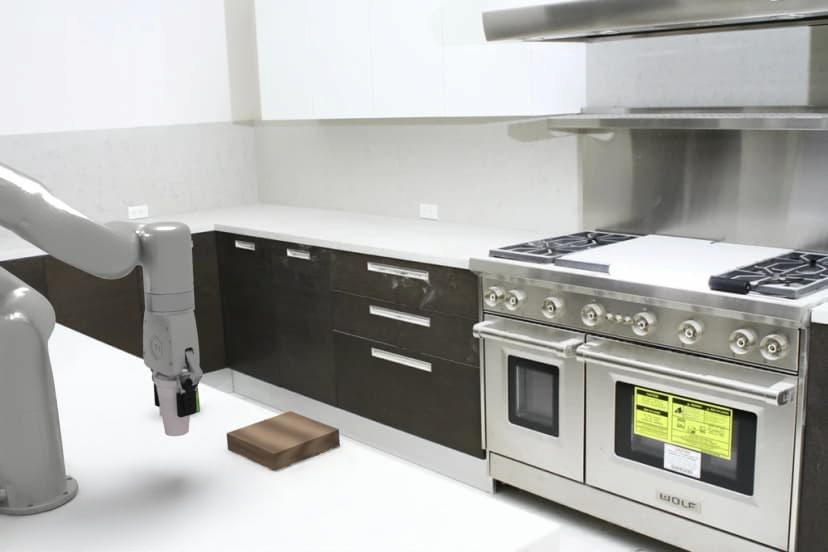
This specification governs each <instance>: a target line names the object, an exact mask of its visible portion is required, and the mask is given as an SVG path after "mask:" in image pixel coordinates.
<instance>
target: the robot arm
mask: <svg viewBox="0 0 828 552" xmlns="http://www.w3.org/2000/svg"><path fill="white" fill-rule="evenodd" d="M0 227H2V228H4V229H6V230H8V231H11V232H12V233H14V234H15V235H16V236H18V237H19V238H21V240H24V241H26V242H28V243H29V244H31V245H33V246H34V247H36V248H38V249H39V250H41V251H42V252H45V254H48V255H50V256H51V257H53V258H55V259H57V260H59V261H62V262H63V263H66V264H68V265H70V266H72V267H75V268H76V269H78V270H82V271H83V272H85V273H88V274H90V275H92V276H94V277H95V276H96V277H98V278H101V279H105V280H118V279H121V278H124V277H126V276H127V275H130V273H131V272H132V271H134V269H135V267H136V266H141V267H142V278H143V291H144V314H143V315H144V316H143V325H142V326H143V327H142V351H143V353H142V354H143V355H142V356H143V364H144V365H145V366H146V367H147V368H148V369H150V371H151V380H152V382H153V395H154V399H153V400H154V406H155V407H158V408H159V406H160V403H159V397H158V392H157V386H156V384H154V375H155V374H157V373H161V374H164V375H166V376H169V377H175V379H176V383H177V387H178V391H179V393H176V400H177V416H178V417H180V418H181V417H185V416H189V415H190V416H191V415H195V414H197V413H198V412H197V404H196V390H197V389H198V390H199V384H200V381H201V380H202V378H203V376H204V373H203V370H202V369H201V366H200V346H199V337H198V329H197V328H198V327H197V323H196V322H197V321H196V316H195V312H194V311H195V309H196V308H195V307H196V306H195V291H194V290H195V289H194V271H193V270H194V268H193V266H194V264H193V250H192V248H193V247H192V233H191V232H192V231H191V228H190V227H189V226H188V225H187V224H186V223H184V222H180V221H158V222H151V223H145V222H144V223H142V222H132V221H123V220H115V221H114V220H113V221H108V222H105V223H102V222H100V221H98V220H95V219H93V218H91V217H89V216H87V215H85V214H83V213H81V212H79V211H78V210H76V209H74V208H72V207H70V206H69V205H68V204H66V203H65V202H63V201H61V200H60V199H59V198H58V197H57V196H55V194H54V193H53V192H52V191H51V190H50V189H49V188H48V186H46V185H45V184H44V183H43V182H42V181H40V180H38V179H37V178H36V177H34V176H31V175H28V174H26V173H25V172H22V171H21V170H18V169H16V168H15V167H12V166H9V165H8V164H5V163H3V162H1V161H0ZM56 323H57V321H56V312H55V309H54V307H53V305H52V304H51V302H50V301H49V300H48V299H47V297H45V296H44V295H43V294H42V293H40V292H39V291H37V290H36V289H35V288H33V287H32V286H30V285H29V284H28V283H26V282H25V281H23V280H22V279H20V278H19V277H17V276H16V275H14V274H12V273H11V272H9V271H8V270H7V269H5V268H4V267H2V266H1V265H0V513H1V514H4V515H9V516H10V515H11V516H13V515H15V516H17V515H18V516H20V515H21V516H22V515H31V514H36V513H41V512H45V511H49V510H51V509H55V508H57V507H59V506H61V505H64V504H66V503H67V502H69V501H70V500H71V499H73V498H74V497H75V496H76V494H78V492H79V483H78V480H77V479H76V478H75V477H73V476H71V475H68V474H67V473H66V464H65V463H66V462H65V454H64V447H63V446H64V445H63V438H62V431H61V423H60V417H59V416H60V414H59V408H58V399H57V398H58V397H57V392H56V391H57V390H56V386H55V379H54V372H53V367H52V364H51V363H52V362H51V359H50V352H49V340H50V338H51V336H52V334H53V333H54V330H55V327H56ZM183 369H186V370H187V372H183V373H181V372H182V370H183ZM184 376H188V378H189V379H186V381H185V382H184V383H183V379H182V377H184ZM197 385H198V387H197Z"/></svg>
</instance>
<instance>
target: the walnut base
mask: <svg viewBox="0 0 828 552" xmlns="http://www.w3.org/2000/svg"><path fill="white" fill-rule="evenodd" d="M226 441H227V450H228V451H231V452H234V453H236V454H237V455H240V456H241V457H245V458H247V459H248V460H251V461H253V462H255V463H258V464H259V465H261V466H264V467H266V468H268V469H270V470H273V471H274V472H276V471H279V470H281V469H284V468H286V467H289V466H292V465H294V464H297V463H299V462H301V461H303V460H306V459H309V458H311V457H314V456H317V455H319V454H322V453H324V452H327V451H329V450H332V449H335V448H336V447H339V446H340V445H341V444H340V443H341V442H340V441H341V439H340V429H339V428H336V427H333V426H331V425H328V424H327V423H326V424H325V423H324V422H320V421H318V420H315V419H314V418H313V419H312V418H310V417H308V416H305V415H301V414H299V413H296V412H294V411H291V410H290V411H285V412H284V413H281V414H279V415H275V416H272V417H269V418H266V419H263V420H261V421H258V422H255V423H252V424H249V425H246V426H243V427H240V428H237V429H234V430H231V431H229V432H226Z"/></svg>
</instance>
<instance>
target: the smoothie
mask: <svg viewBox="0 0 828 552" xmlns="http://www.w3.org/2000/svg"><path fill="white" fill-rule="evenodd" d="M183 372H187V370H185V369H183V370H182V372H181V373H183ZM182 379H183V383H184V382H185V381H186V379H189V378H188V376H184V377H182ZM154 384H156V386H157V392H158V397H159V403H160V408H161V414H162V415H161V414H160V415H161V419H162V424H163V428H164V434H165V435H167V436H169V437H180V436H181V437H182V436H185V435H186V434H188V433H189V431H190V429H189V428H190V421H191V420H190V419H191V415H189V416H185V417H181V418H180V417H178V416H177V400H176V393H179V391H178V387H177V383H176V379H175V377H169V376H166V375H164V374H161V373H157V374H155V375H154V382H153V385H154Z"/></svg>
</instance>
